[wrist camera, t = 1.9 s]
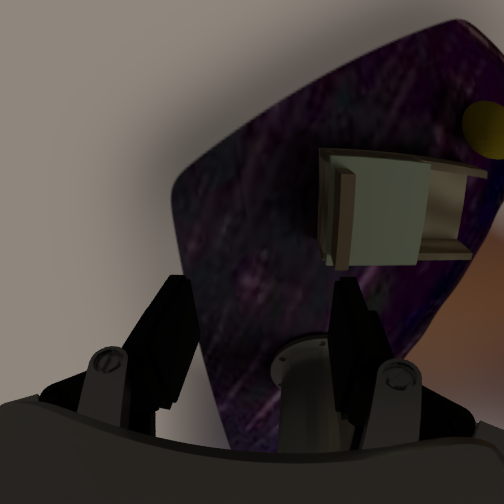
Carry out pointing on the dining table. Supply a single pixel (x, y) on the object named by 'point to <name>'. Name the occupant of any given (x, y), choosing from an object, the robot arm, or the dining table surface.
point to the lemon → (485, 128)
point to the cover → (375, 210)
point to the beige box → (438, 203)
